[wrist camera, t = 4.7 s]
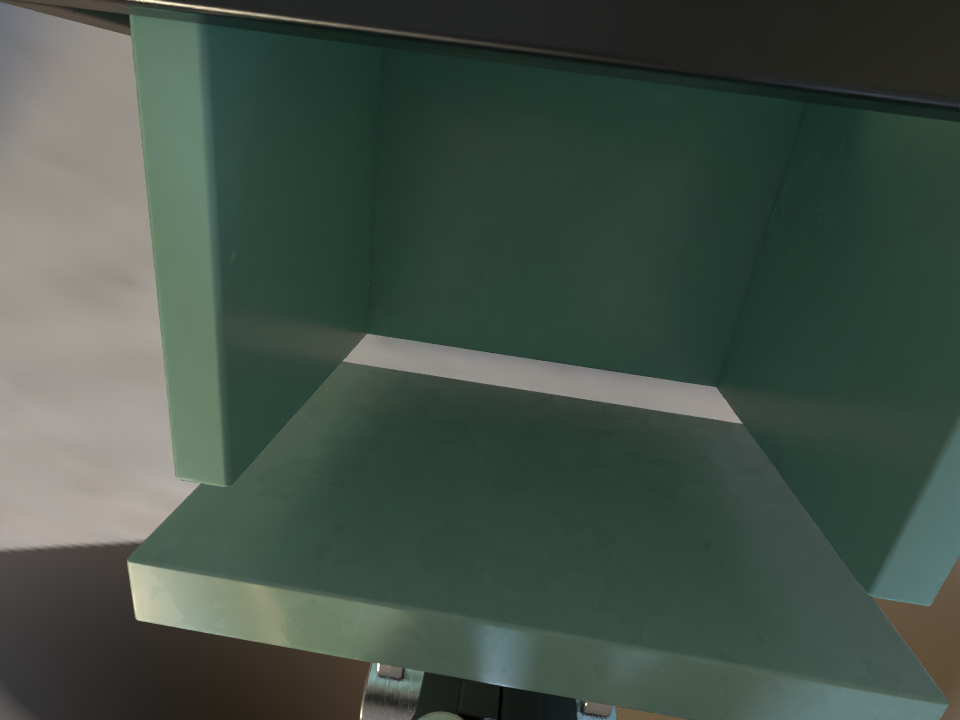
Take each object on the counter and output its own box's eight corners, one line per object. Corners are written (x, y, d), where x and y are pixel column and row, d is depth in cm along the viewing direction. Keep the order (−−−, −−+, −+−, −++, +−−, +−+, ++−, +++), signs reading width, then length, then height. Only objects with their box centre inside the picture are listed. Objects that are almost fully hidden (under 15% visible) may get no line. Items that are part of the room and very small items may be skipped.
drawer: (681, 607, 17) (789, 953, 10) (319, 545, 17) (165, 831, 10) (957, -179, 10) (2106, -1053, 3) (335, -245, 10) (-135, -1139, 3)
